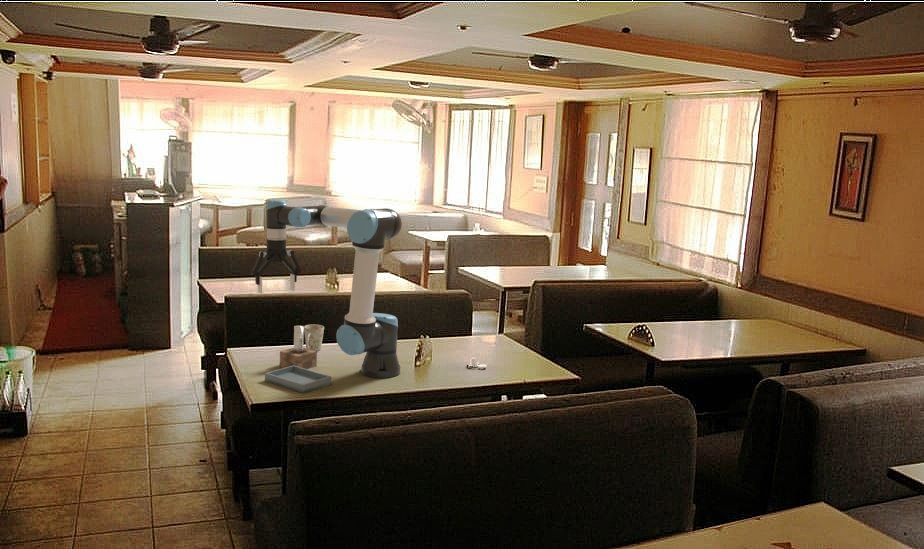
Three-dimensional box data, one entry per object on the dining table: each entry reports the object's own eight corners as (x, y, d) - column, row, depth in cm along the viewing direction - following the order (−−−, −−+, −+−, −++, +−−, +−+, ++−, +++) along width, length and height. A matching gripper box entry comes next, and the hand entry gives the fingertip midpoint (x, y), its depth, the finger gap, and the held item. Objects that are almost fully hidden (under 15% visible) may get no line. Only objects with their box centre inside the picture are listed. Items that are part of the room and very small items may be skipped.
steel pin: (304, 366, 299) (305, 326, 296) (298, 368, 296) (298, 328, 293) (298, 364, 301) (299, 325, 298) (291, 366, 298) (292, 326, 295)
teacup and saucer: (489, 370, 309) (490, 360, 308) (472, 372, 305) (473, 362, 304) (477, 364, 316) (478, 354, 315) (461, 366, 312) (462, 356, 311)
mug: (325, 347, 326) (326, 325, 325) (317, 355, 314) (318, 332, 312) (306, 346, 327) (307, 323, 325) (297, 354, 315) (298, 330, 313)
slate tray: (331, 384, 279) (331, 376, 278) (303, 393, 267) (303, 385, 267) (293, 372, 290) (293, 365, 289) (264, 380, 279) (264, 373, 278)
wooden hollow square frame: (316, 366, 300) (316, 351, 299) (297, 371, 292) (297, 356, 291) (298, 361, 305) (299, 346, 304) (279, 366, 297) (279, 351, 296)
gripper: (302, 236, 312) (301, 287, 315) (242, 238, 298) (242, 292, 301) (309, 239, 306) (309, 290, 309) (248, 241, 292) (249, 295, 295)
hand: (276, 291), depth 305 cm, fingers open, 13 cm apart
